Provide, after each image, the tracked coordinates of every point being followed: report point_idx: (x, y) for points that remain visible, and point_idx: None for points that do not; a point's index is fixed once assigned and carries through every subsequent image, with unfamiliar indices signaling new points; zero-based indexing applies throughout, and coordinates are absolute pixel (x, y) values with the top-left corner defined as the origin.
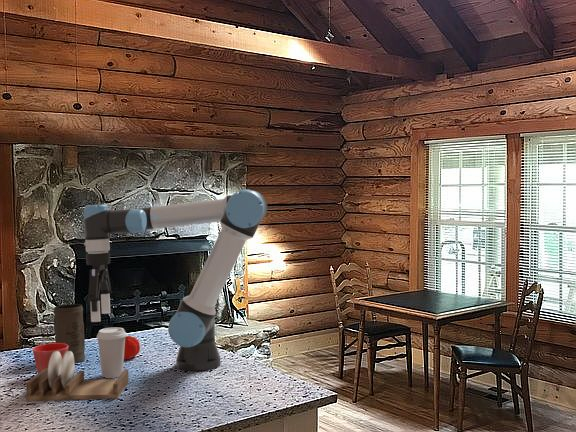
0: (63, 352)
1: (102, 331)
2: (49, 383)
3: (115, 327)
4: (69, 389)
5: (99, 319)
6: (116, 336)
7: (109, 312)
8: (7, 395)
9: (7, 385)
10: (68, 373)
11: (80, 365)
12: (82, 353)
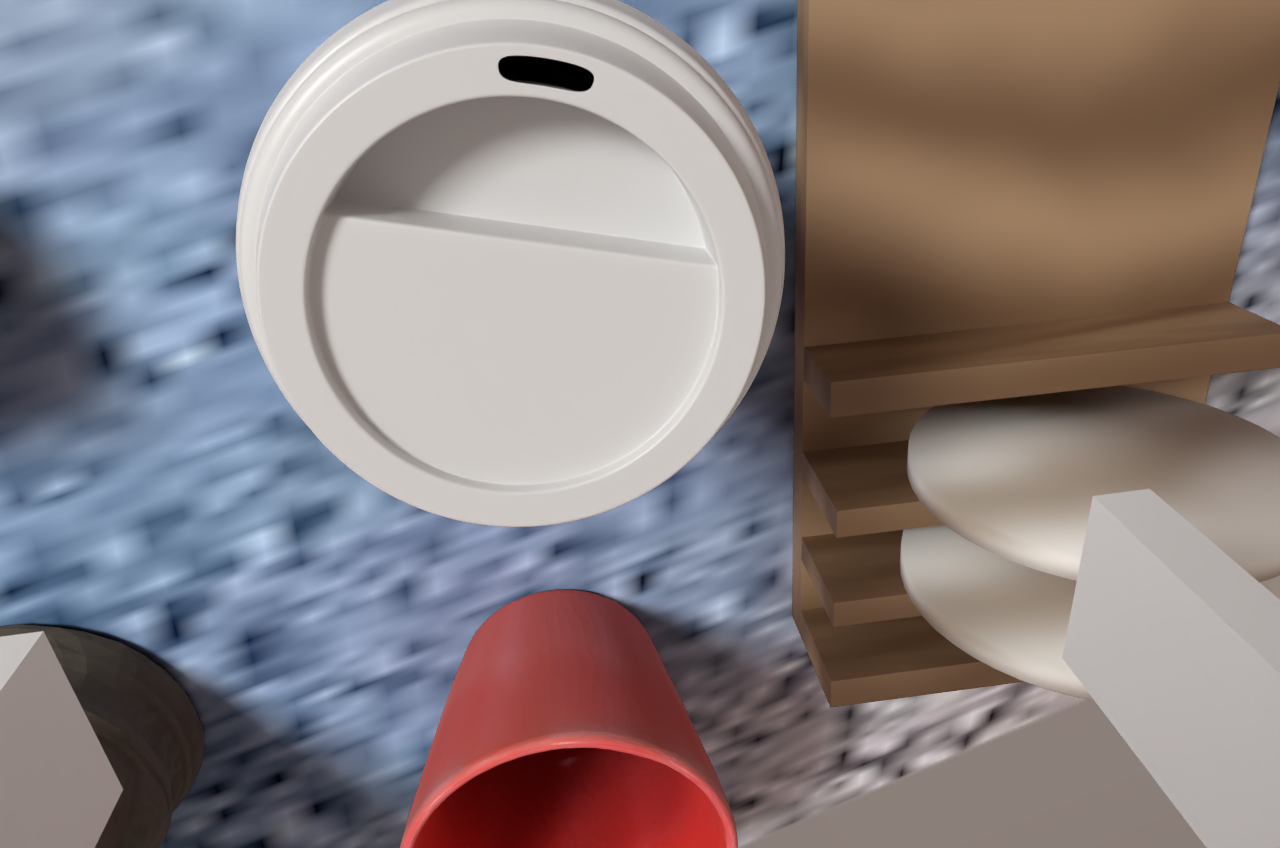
0: (631, 717)
1: (574, 456)
2: None
3: (261, 316)
4: (1259, 319)
5: (1185, 525)
6: (735, 120)
7: (36, 657)
8: (997, 723)
9: (781, 815)
10: (1108, 439)
11: (212, 582)
12: None
